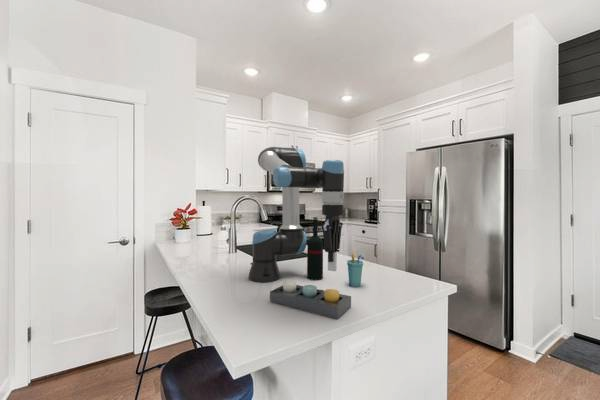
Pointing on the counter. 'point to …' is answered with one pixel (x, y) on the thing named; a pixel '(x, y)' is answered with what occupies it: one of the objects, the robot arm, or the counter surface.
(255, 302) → the counter surface
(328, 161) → the robot arm
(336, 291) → the button amber
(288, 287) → the button ivory
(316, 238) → the wine bottle
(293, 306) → the console
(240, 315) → the counter surface
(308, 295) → the button teal
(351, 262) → the cup
